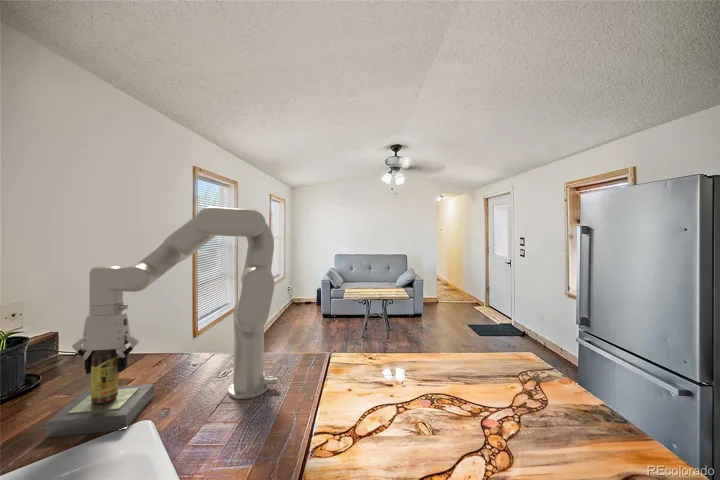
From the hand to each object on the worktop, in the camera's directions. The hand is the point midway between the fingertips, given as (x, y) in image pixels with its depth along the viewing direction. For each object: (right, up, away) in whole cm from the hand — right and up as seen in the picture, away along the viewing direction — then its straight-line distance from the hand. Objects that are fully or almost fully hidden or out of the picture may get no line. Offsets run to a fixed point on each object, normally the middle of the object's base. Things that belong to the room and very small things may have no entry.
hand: (106, 370), depth 93 cm
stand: (0, -13, 0) cm, 13 cm away
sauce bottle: (0, -9, 0) cm, 9 cm away
